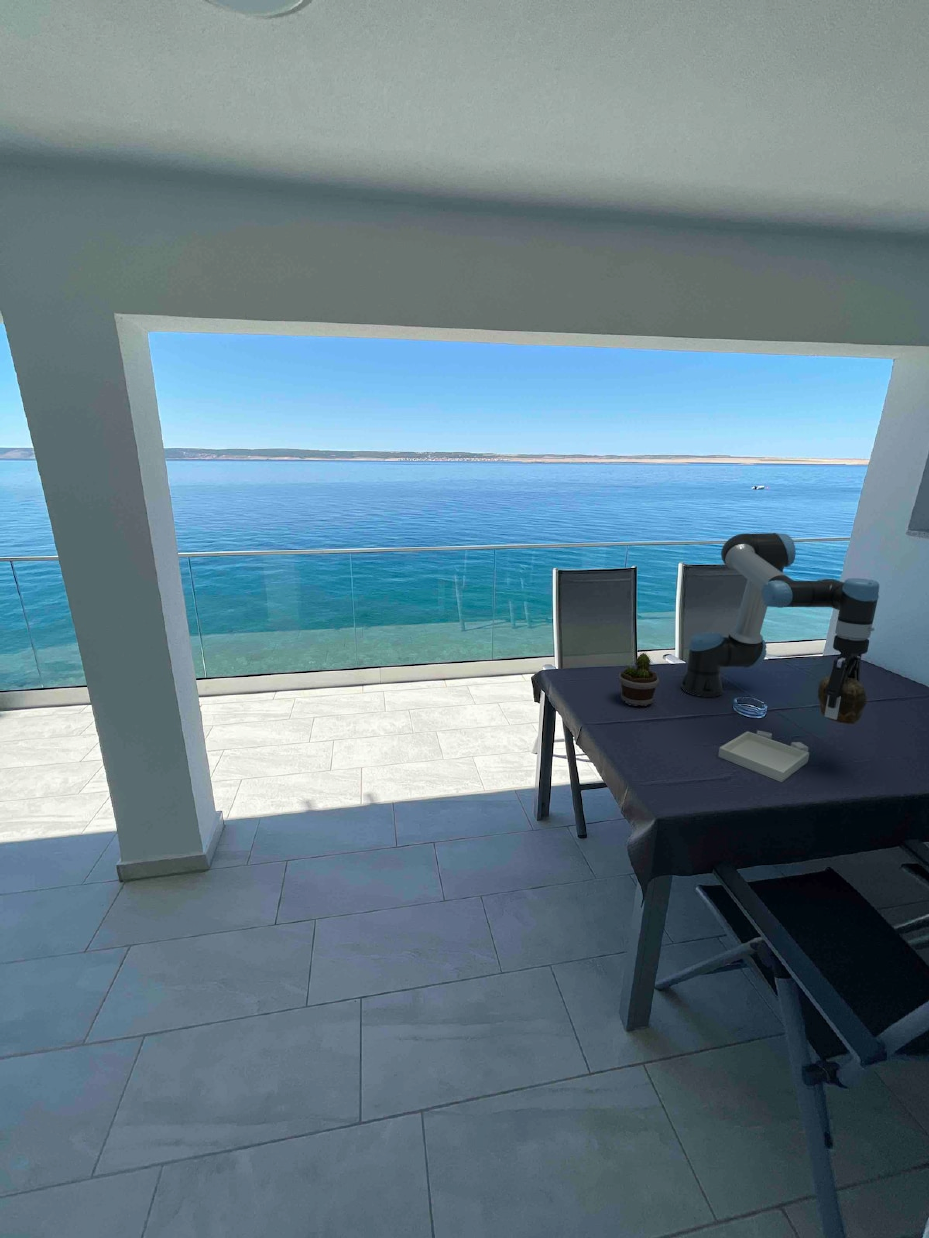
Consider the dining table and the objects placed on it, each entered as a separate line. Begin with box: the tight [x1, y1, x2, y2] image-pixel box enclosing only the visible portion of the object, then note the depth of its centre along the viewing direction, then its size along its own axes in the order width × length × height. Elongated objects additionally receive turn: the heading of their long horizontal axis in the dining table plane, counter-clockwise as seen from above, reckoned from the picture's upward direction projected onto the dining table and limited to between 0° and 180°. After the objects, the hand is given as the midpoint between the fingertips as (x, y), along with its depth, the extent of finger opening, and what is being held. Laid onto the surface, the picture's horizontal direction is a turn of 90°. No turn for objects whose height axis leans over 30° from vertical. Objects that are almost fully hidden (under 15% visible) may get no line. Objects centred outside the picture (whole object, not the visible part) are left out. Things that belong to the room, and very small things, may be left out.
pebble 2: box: [790, 741, 810, 752], centre depth 154 cm, size 4×3×2 cm
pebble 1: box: [755, 730, 773, 740], centre depth 162 cm, size 4×3×2 cm
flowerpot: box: [617, 651, 660, 707], centre depth 190 cm, size 14×15×20 cm
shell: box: [817, 675, 867, 725], centre depth 139 cm, size 11×11×12 cm
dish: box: [717, 730, 810, 783], centre depth 150 cm, size 18×18×3 cm
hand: (838, 711), depth 140 cm, fingers closed on shell, 11 cm apart
